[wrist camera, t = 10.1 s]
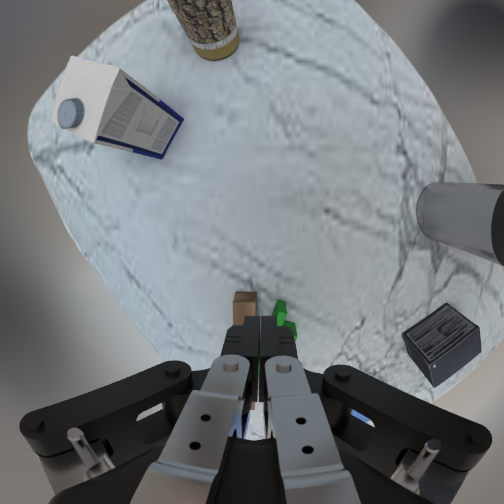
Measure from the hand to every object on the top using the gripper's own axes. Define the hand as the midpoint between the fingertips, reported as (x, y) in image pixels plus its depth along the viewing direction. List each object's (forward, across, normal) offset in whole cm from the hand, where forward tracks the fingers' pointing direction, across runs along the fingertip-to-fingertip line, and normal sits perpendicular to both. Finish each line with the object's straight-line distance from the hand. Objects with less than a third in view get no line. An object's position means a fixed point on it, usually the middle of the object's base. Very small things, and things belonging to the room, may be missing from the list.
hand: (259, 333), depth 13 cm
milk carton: (+27, +16, -16) cm, 35 cm away
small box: (+27, -30, +16) cm, 44 cm away
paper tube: (+27, +7, -30) cm, 41 cm away
